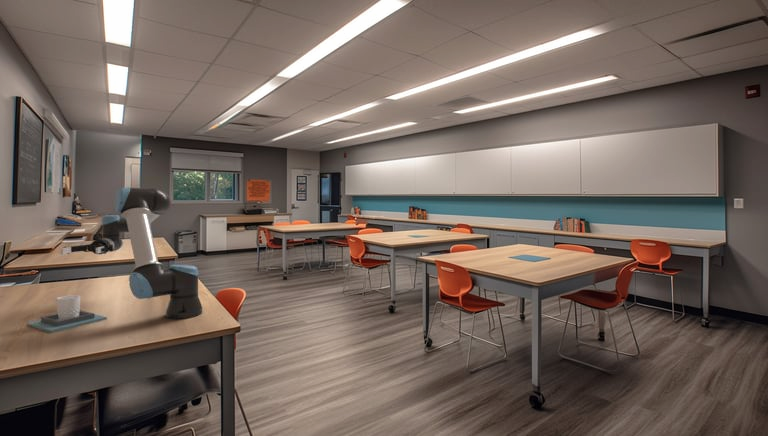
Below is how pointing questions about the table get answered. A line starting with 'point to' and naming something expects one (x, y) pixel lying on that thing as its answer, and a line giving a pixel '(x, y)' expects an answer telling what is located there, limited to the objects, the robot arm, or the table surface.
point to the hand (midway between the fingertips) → (79, 251)
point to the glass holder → (65, 321)
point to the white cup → (68, 306)
